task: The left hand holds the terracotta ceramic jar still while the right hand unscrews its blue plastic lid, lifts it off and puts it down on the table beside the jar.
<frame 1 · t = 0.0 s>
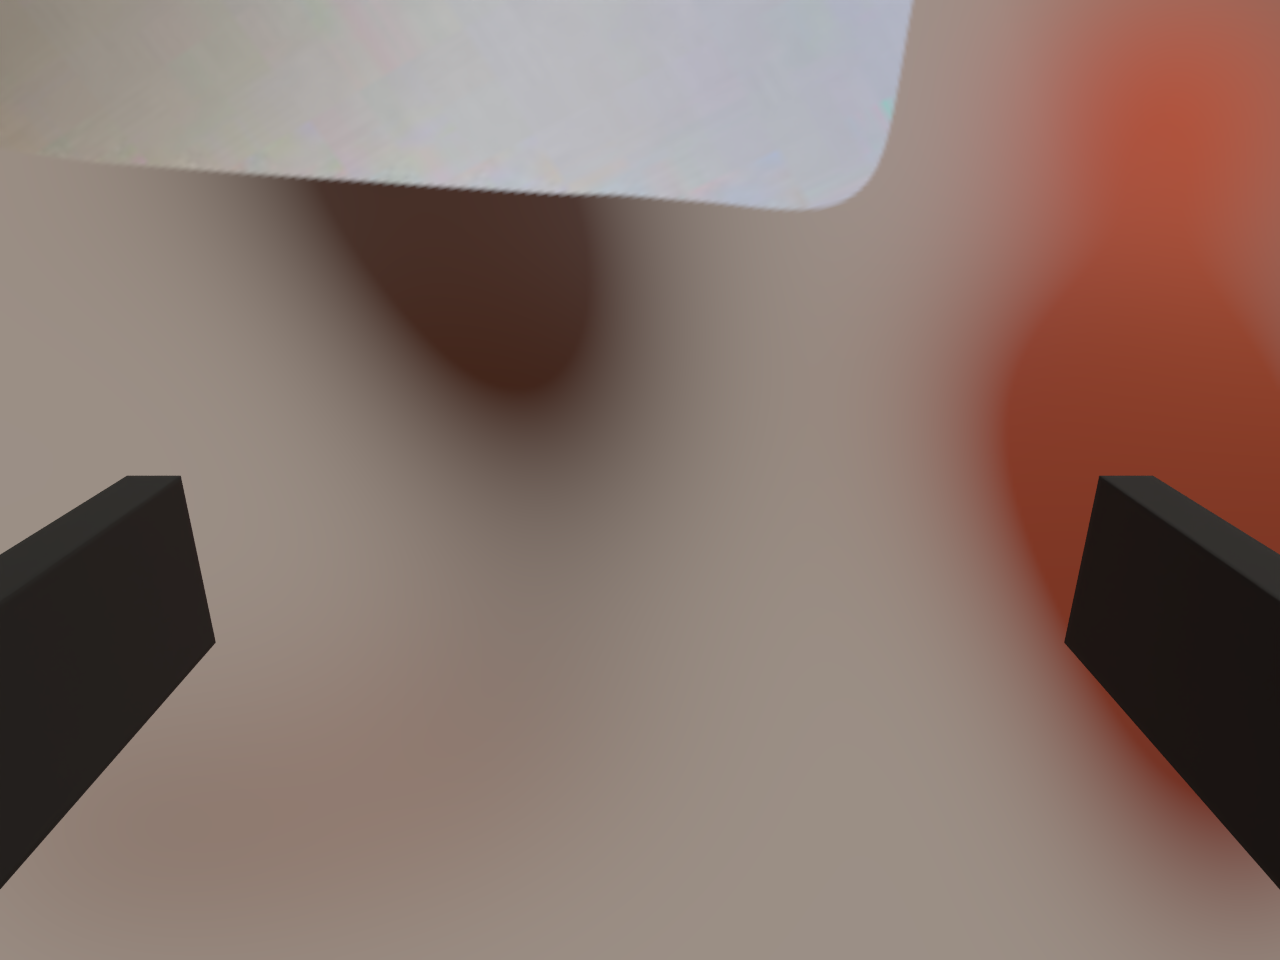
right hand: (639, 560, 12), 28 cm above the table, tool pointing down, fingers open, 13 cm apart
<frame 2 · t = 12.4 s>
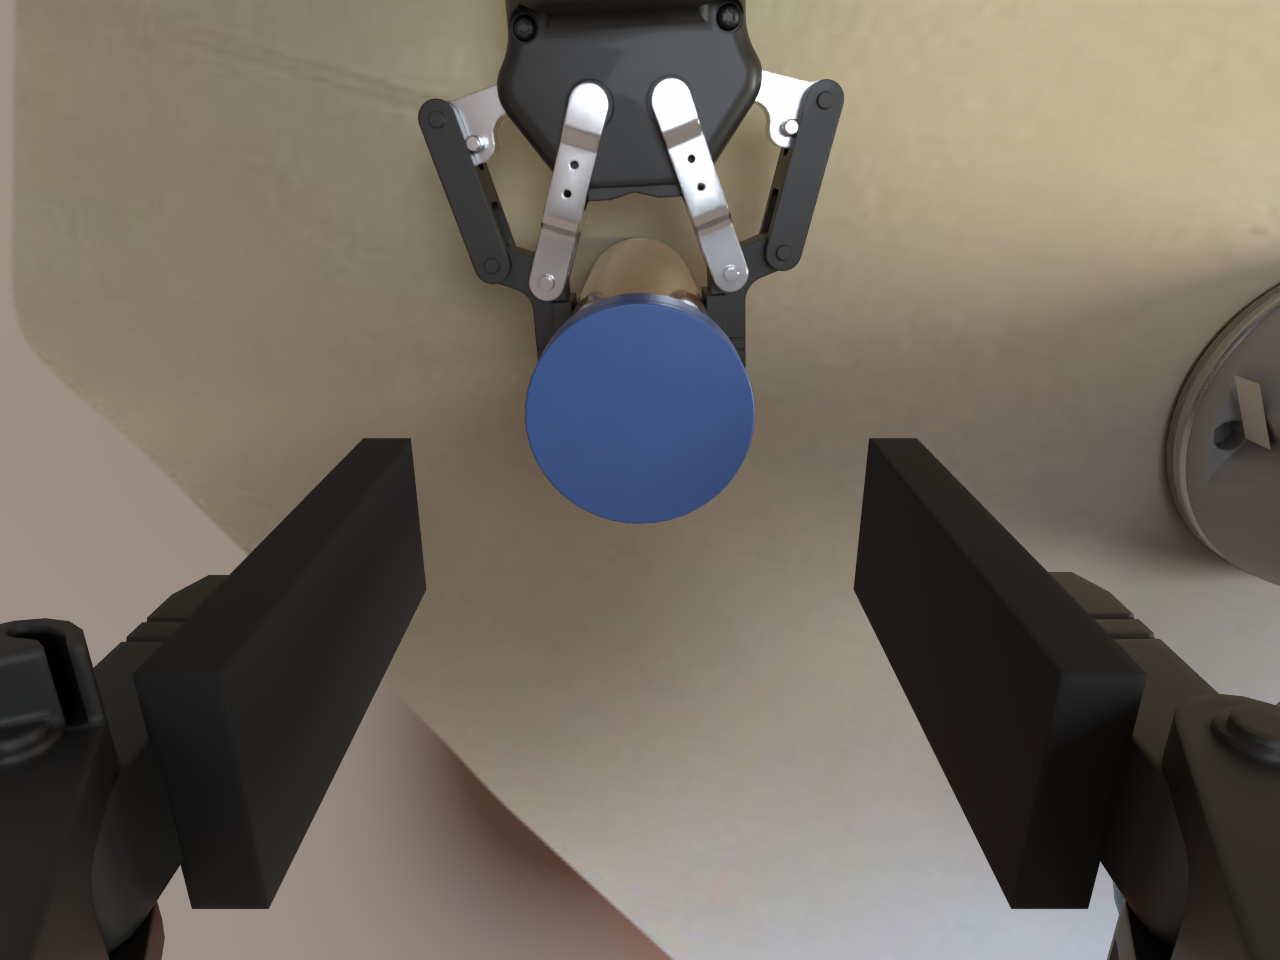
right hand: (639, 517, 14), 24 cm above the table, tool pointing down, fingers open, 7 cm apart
left hand: (644, 393, 31), fingers closed on jar, 4 cm apart
jar: (640, 292, 36), on the table, touching left hand
lid: (639, 414, 19), point 18 cm above the table, screwed on, not yet turned
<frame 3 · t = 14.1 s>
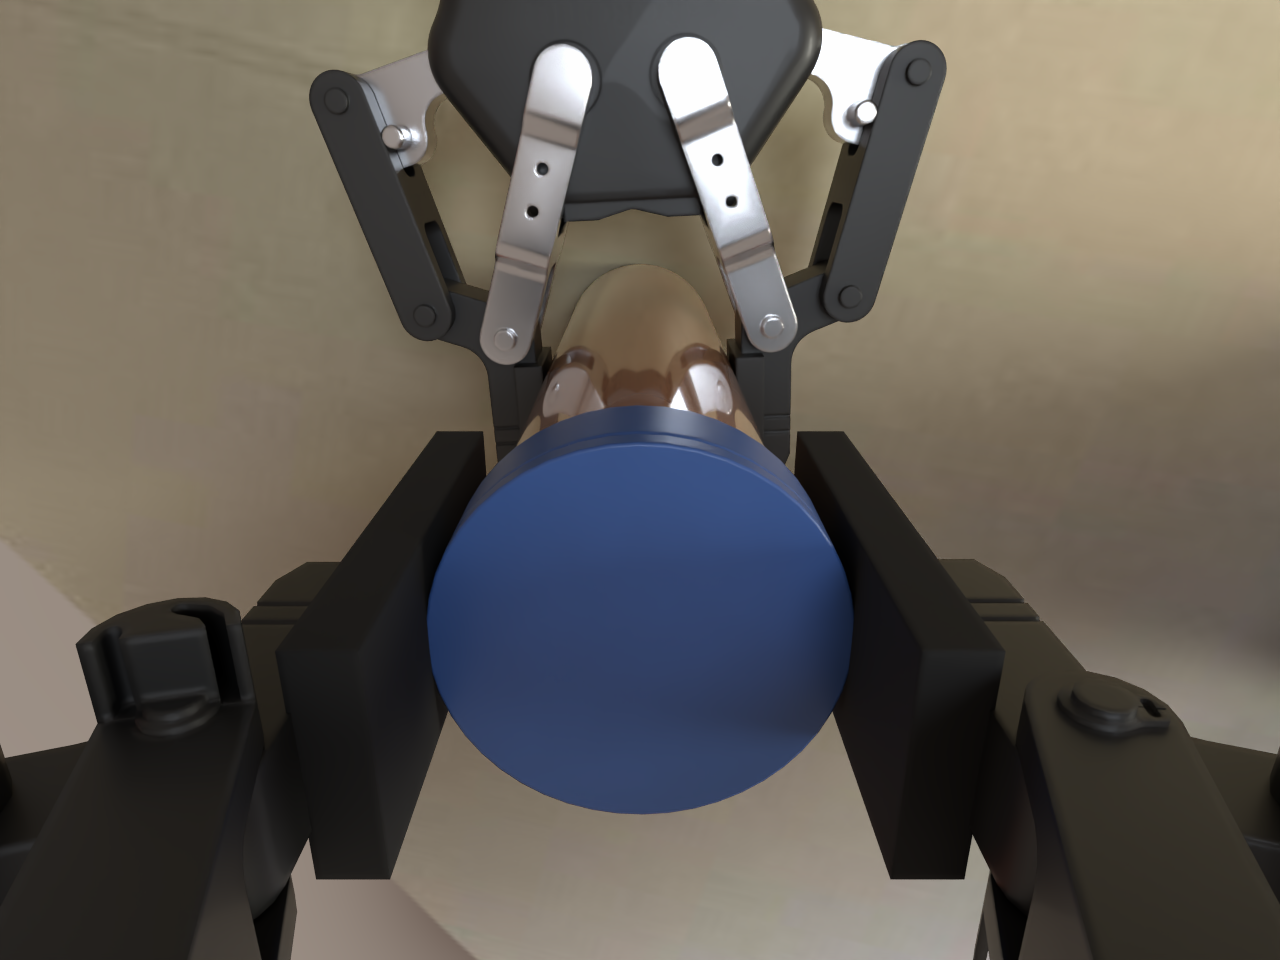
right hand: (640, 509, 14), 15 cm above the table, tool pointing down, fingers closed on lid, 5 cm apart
left hand: (646, 486, 22), fingers closed on jar, 4 cm apart
jar: (640, 336, 28), on the table, touching left hand
lid: (640, 631, 10), point 18 cm above the table, screwed on, not yet turned, touching right hand
when the right hand's fingers open (15 cm above the table, at t = 15.6 s): lid stays where it is, point 19 cm above the table.
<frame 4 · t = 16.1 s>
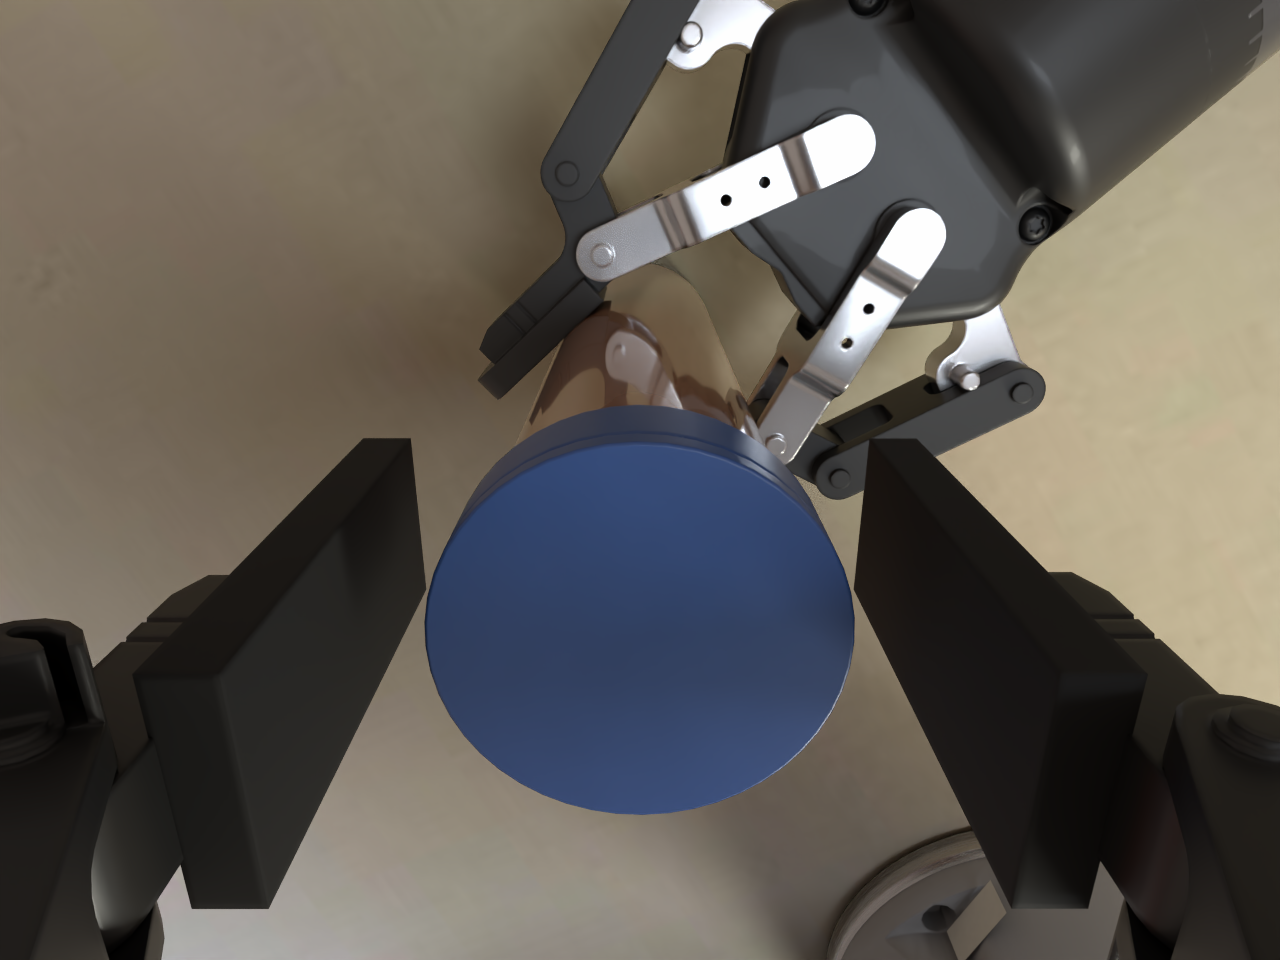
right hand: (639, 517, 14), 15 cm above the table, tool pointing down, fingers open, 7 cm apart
left hand: (567, 453, 22), fingers closed on jar, 4 cm apart
jar: (640, 334, 28), on the table, touching left hand
lid: (639, 631, 10), point 19 cm above the table, turned 87° so far, risen 0.3 cm, still on its thread
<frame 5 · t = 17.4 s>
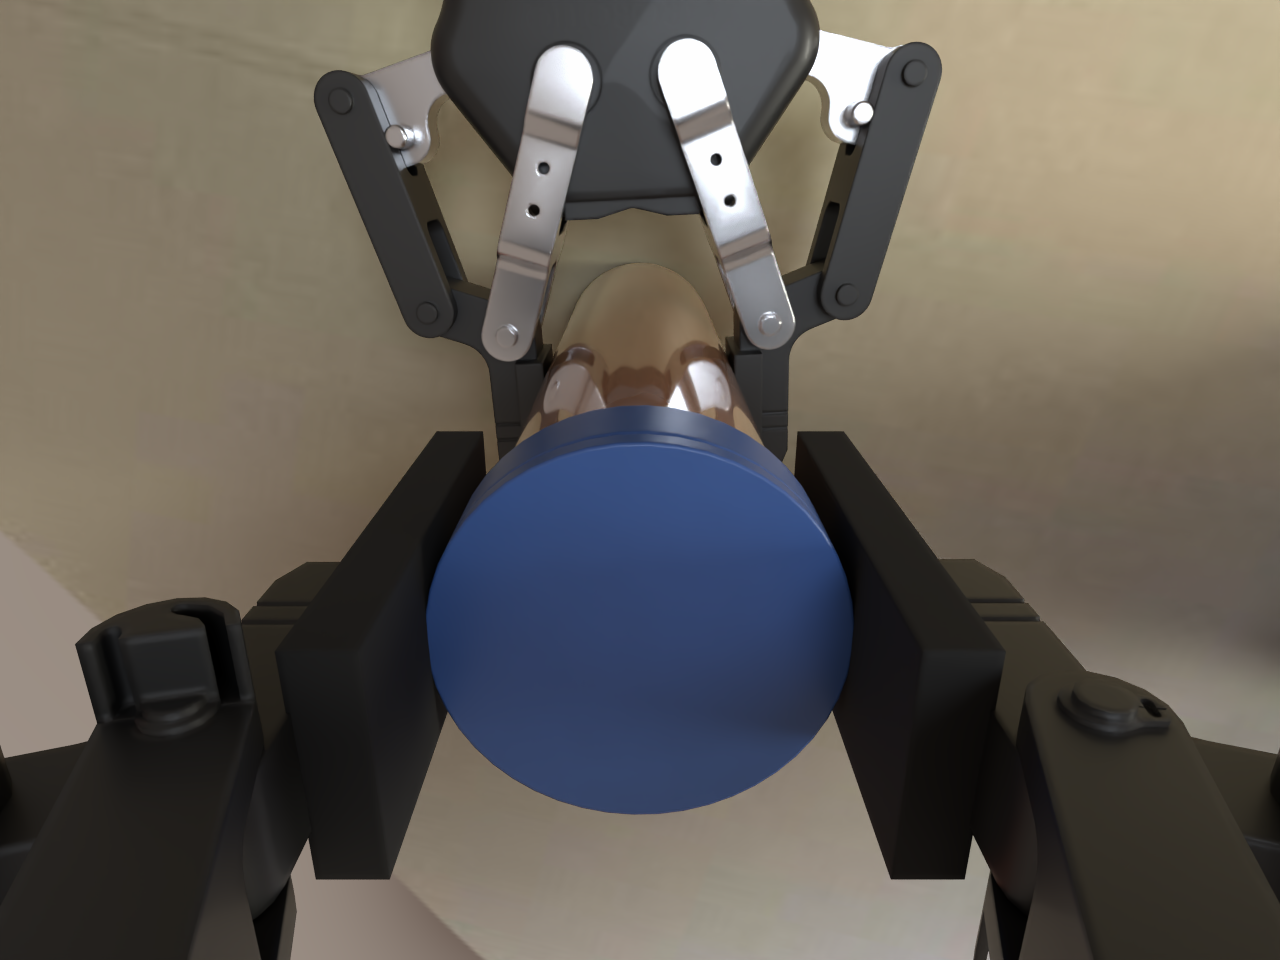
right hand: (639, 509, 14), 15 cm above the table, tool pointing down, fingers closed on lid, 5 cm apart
left hand: (645, 482, 23), fingers closed on jar, 4 cm apart
jar: (640, 334, 28), on the table, touching left hand
lid: (639, 631, 10), point 19 cm above the table, turned 87° so far, risen 0.3 cm, still on its thread, touching right hand
when the right hand's fingers open (0 cm above the table, at t = 24.2 s): lid drops 3 cm, point 1 cm above the table.
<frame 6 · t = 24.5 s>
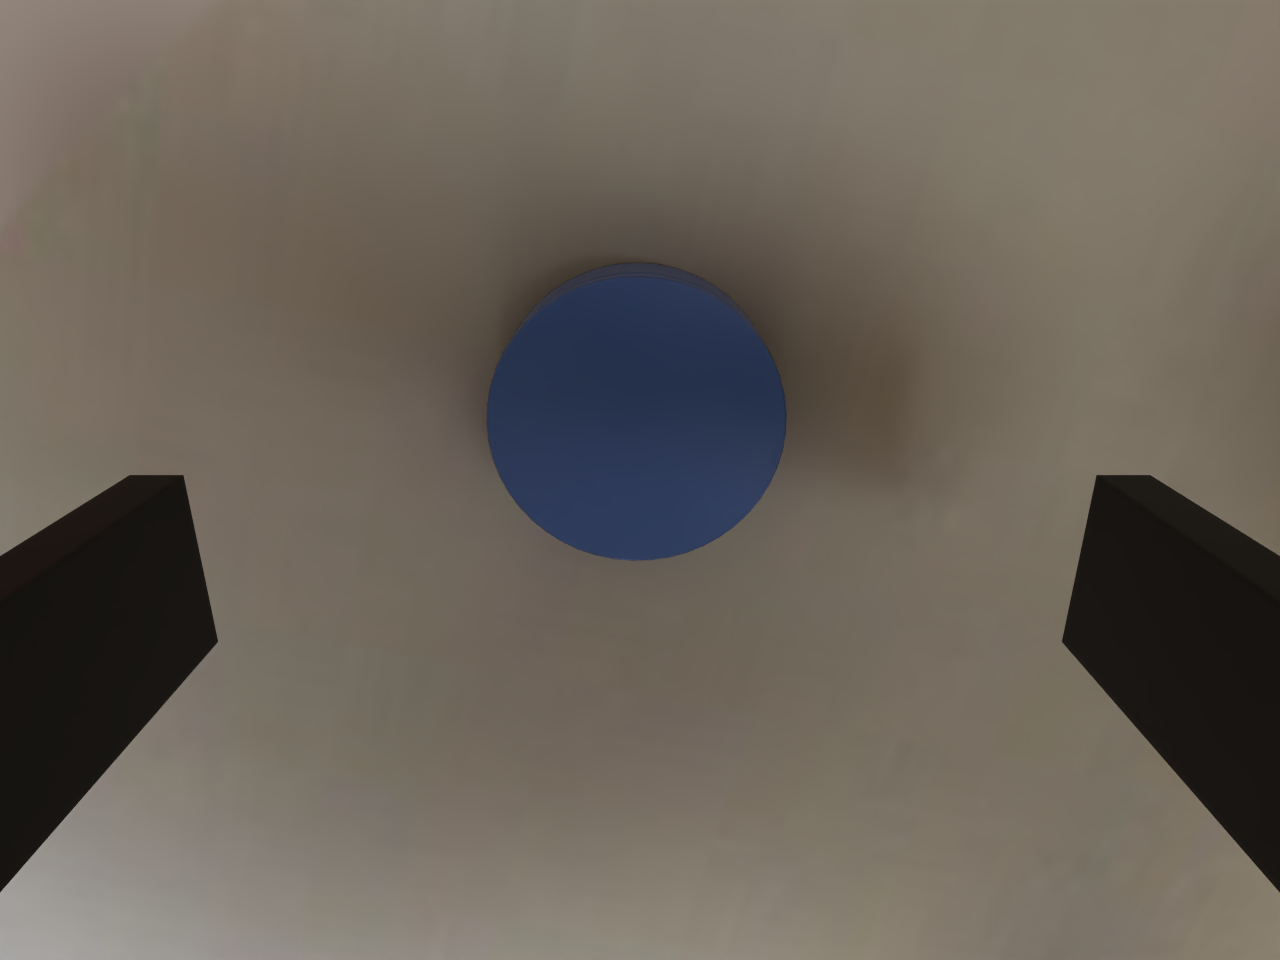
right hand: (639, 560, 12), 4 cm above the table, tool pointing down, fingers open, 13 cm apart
lid: (636, 422, 15), point 1 cm above the table, off its thread
when the left hand's fingers open (7 cm above the table, at t = 24.8 s): jar stays where it is, on the table.
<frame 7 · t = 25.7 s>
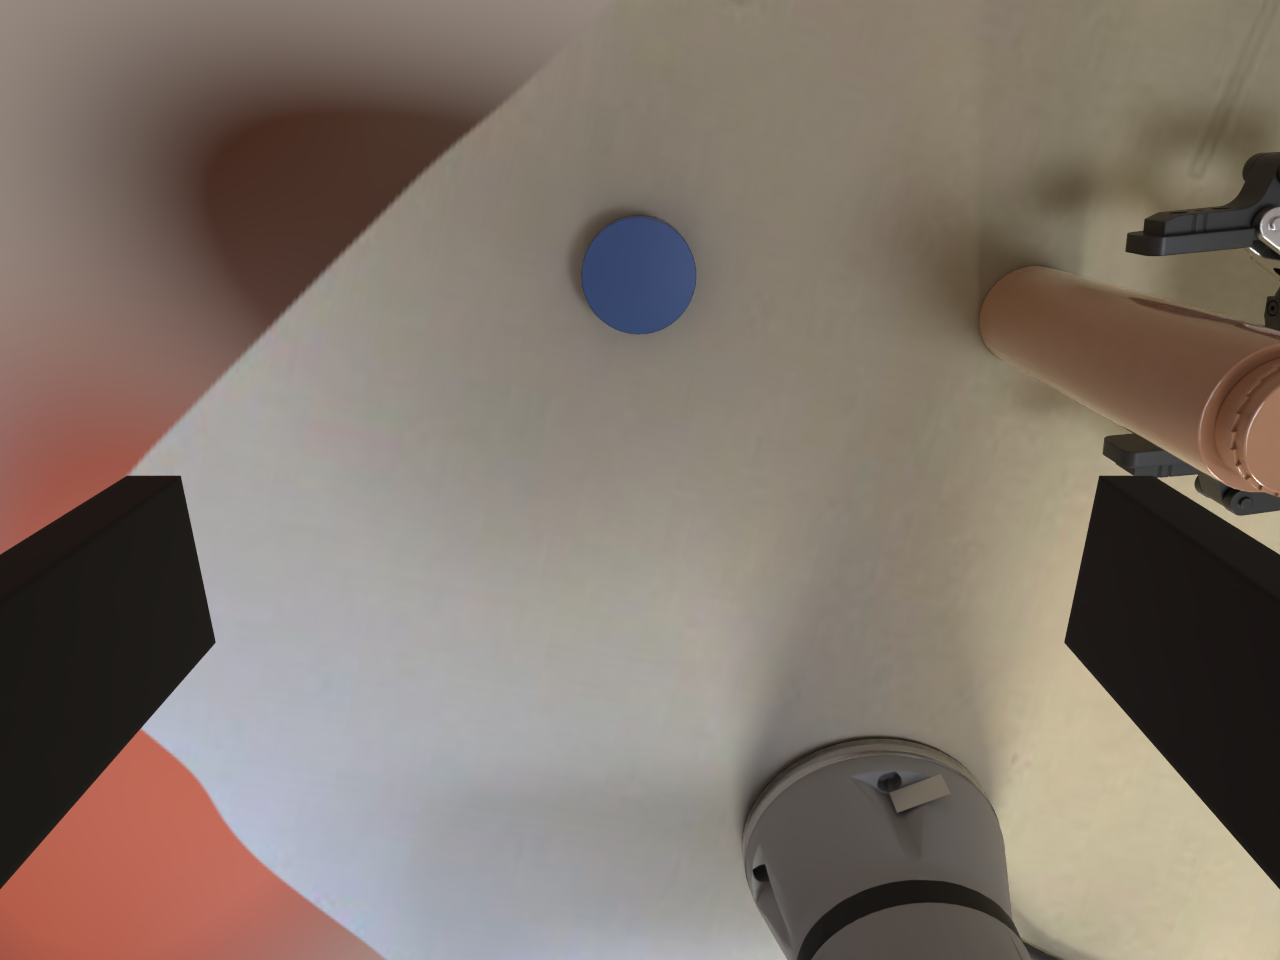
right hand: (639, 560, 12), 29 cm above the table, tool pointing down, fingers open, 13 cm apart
jar: (1027, 315, 40), on the table
lid: (638, 276, 38), point 1 cm above the table, off its thread
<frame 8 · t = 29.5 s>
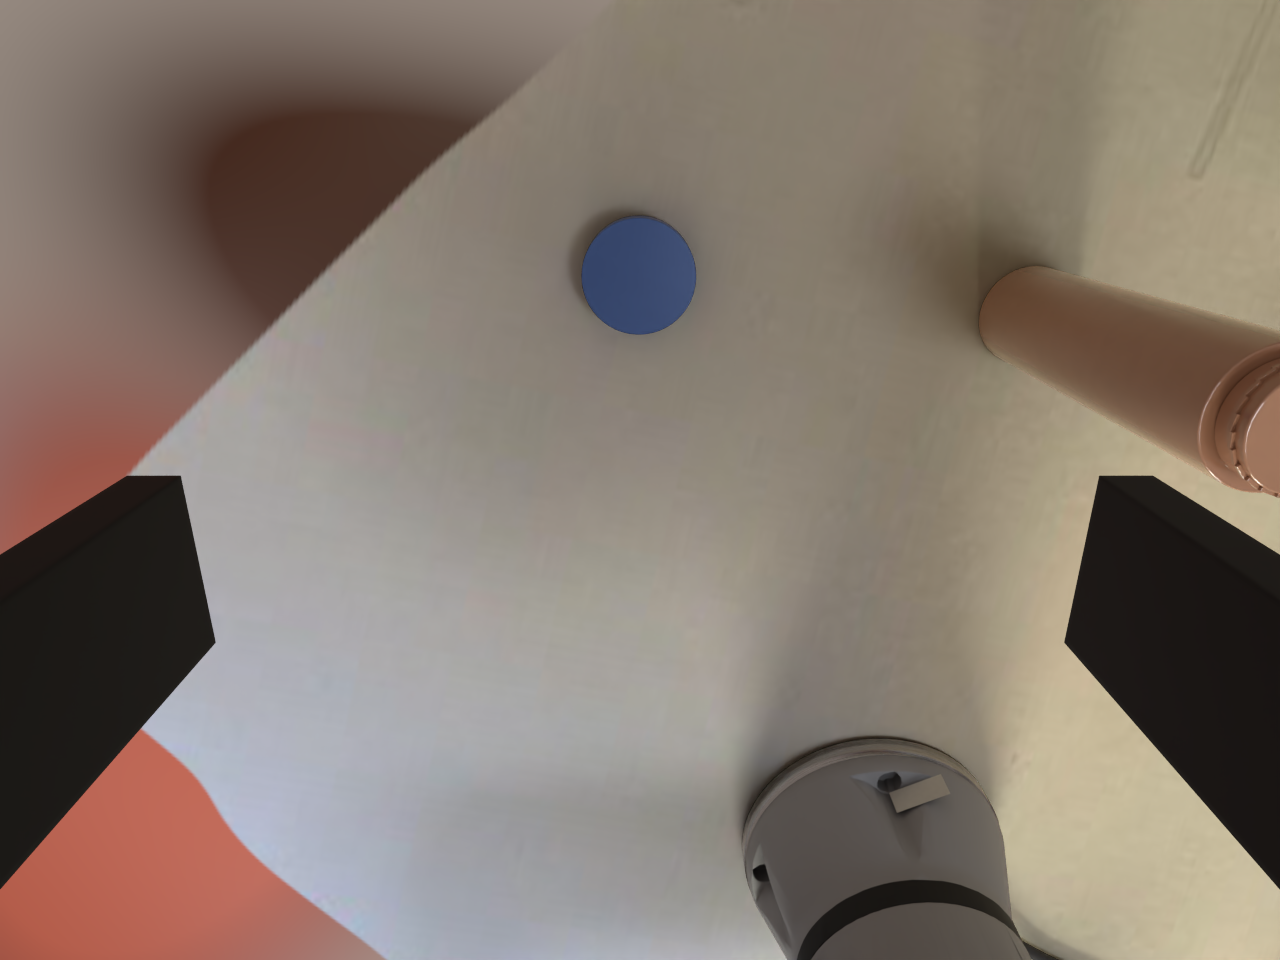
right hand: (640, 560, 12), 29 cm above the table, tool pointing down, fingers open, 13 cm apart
jar: (1027, 315, 40), on the table
lid: (638, 276, 38), point 1 cm above the table, off its thread
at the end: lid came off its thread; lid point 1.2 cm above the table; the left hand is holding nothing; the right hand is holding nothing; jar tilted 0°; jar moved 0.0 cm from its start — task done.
